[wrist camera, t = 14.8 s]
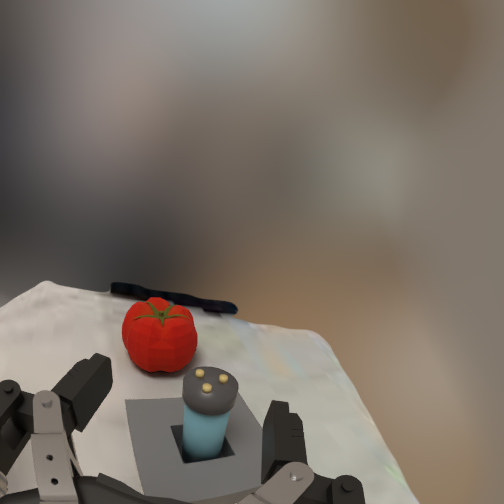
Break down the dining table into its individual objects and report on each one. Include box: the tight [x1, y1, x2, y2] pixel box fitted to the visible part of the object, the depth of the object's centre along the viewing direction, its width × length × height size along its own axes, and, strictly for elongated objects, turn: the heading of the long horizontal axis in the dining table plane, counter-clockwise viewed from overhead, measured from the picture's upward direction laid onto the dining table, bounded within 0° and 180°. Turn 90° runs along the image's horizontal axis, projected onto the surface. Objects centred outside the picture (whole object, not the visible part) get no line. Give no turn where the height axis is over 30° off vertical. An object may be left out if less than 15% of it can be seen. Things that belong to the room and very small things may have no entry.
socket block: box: [125, 392, 264, 504], centre depth 26 cm, size 16×16×4 cm
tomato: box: [122, 298, 197, 372], centre depth 44 cm, size 14×13×10 cm
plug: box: [182, 367, 238, 464], centre depth 25 cm, size 5×5×14 cm
